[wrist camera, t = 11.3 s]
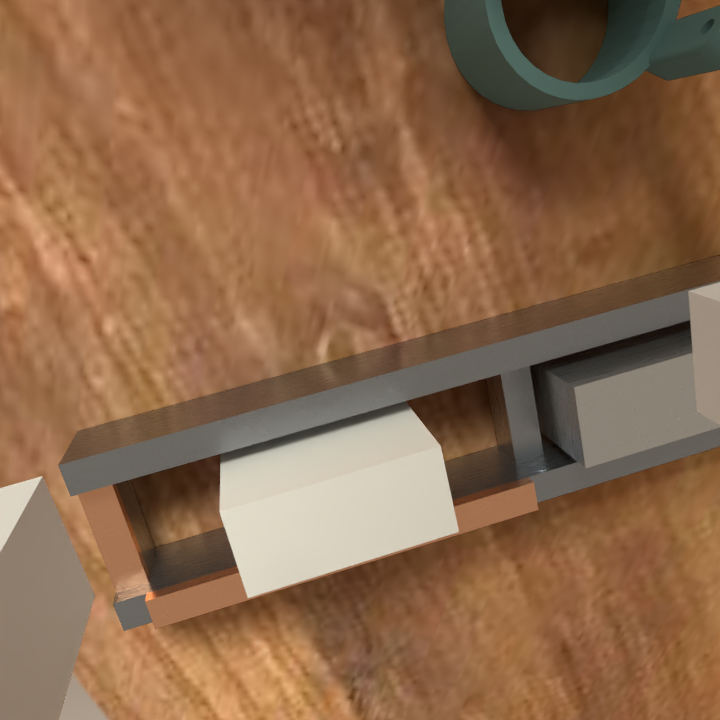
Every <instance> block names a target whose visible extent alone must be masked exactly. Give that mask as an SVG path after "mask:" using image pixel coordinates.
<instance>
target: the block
mask: <svg viewBox="0 0 720 720" xmlns="http://www.w3.org/2000/svg"><path fill="white" fill-rule="evenodd" d="M220 515H221V518H222V521H223V524H224V527H225V530H226V533H227V536H228V539H229V542H230V545H231V548H232V551H233V554H234V558H235V561H236V564H237V567H238V570H239V573H240V576H241V579H242V582H243V585H244V588H245V591H246V594H247V597H248V598H250V597H253V596H257V595H260V594H263V593H266V592H269V591H273V590H276V589H279V588H282V587H285V586H289V585H292V584H295V583H298V582H301V581H304V580H308V579H311V578H314V577H317V576H320V575H324V574H327V573H330V572H333V571H336V570H339V569H343V568H346V567H349V566H352V565H355V564H359V563H362V562H365V561H368V560H371V559H374V558H378V557H381V556H384V555H387V554H390V553H394V552H397V551H400V550H403V549H406V548H410V547H413V546H416V545H419V544H422V543H425V542H429V541H432V540H435V539H438V538H441V537H445V536H448V535H451V534H454V533H457V532H459V529H458V525H457V520H456V515H455V511H454V506H453V501H452V497H451V492H450V487H449V482H448V478H447V473H446V468H445V464H444V459H443V454H442V450H441V446H440V445H439V443H438V442H437V441H436V439H435V438H434V437H433V436H432V434H431V433H430V432H429V431H428V429H427V428H426V427H425V425H424V424H423V423H422V422H421V420H420V419H419V418H418V417H417V415H416V414H415V413H414V411H413V410H412V409H411V408H410V406H409V405H408V404H407V403H406V401H404V402H401V403H397V404H394V405H390V406H387V407H383V408H380V409H376V410H373V411H369V412H366V413H362V414H359V415H355V416H352V417H348V418H345V419H341V420H338V421H334V422H331V423H327V424H324V425H320V426H317V427H313V428H310V429H306V430H303V431H299V432H295V433H292V434H288V435H285V436H281V437H278V438H274V439H271V440H267V441H264V442H260V443H257V444H253V445H250V446H246V447H243V448H239V449H236V450H232V451H229V452H225V453H222V454H221V462H220Z"/></svg>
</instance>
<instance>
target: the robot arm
mask: <svg viewBox="0 0 720 720" xmlns="http://www.w3.org/2000/svg"><path fill="white" fill-rule="evenodd" d="M688 294H689V308H690V322H691V337H692V351H693V365H694V379H695V393H696V408H697V412H698V413H700V414H702V415H703V416H705V417H707V418H709V419H710V420H712V421H714V422H716V423H717V424H719V425H720V282H719V283H715V284H712V285H708V286H705V287H701V288H698V289H694V290H691V291H688ZM94 597H95V594H94V592H93V590H92V588H91V585H90V583H89V581H88V578H87V576H86V574H85V572H84V569H83V567H82V565H81V563H80V560H79V558H78V556H77V553H76V551H75V549H74V547H73V544H72V542H71V540H70V538H69V535H68V533H67V531H66V528H65V526H64V524H63V522H62V519H61V517H60V515H59V513H58V510H57V508H56V506H55V503H54V501H53V499H52V497H51V494H50V492H49V490H48V487H47V485H46V483H45V481H44V478H43V476H41V477H38V478H34V479H31V480H27V481H24V482H20V483H17V484H13V485H10V486H6V487H3V488H1V489H0V720H59V717H60V713H61V710H62V707H63V703H64V700H65V696H66V693H67V689H68V686H69V682H70V679H71V676H72V672H73V669H74V666H75V662H76V659H77V655H78V652H79V649H80V645H81V642H82V638H83V635H84V631H85V628H86V625H87V621H88V618H89V614H90V611H91V608H92V604H93V601H94Z"/></svg>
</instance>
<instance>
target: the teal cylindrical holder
mask: <svg viewBox="0 0 720 720" xmlns="http://www.w3.org/2000/svg"><path fill="white" fill-rule="evenodd" d="M680 3H681V0H608V20H607V29H606V33H605V36H604V40H603V44H602V47H601V49H600V51H599V53H598V55H597V58H596V60H595V61H594V63H593V64H592V66H591V67H590V69H589V70H588V72H587V73H586V74H585V75H584V76H583V78H582V79H581V80H580V81H579V82H578V83H573V82H567V81H561V80H559V79H556V78H554V77H551V76H549V75H547V74H545V73H544V72H542V71H541V70H539V69H538V68H536V67H535V66H533V64H532V63H531V62H530V61H529V60H528V59H527V58H526V57H525V56H524V55H523V54H522V53H521V51H520V50H519V48H518V47H517V45H516V44H515V42H514V40H513V39H512V37H511V34H510V32H509V29H508V27H507V24H506V22H505V17H504V13H503V9H502V4H501V0H445V11H444V22H445V30H446V38H447V41H448V45H449V48H450V51H451V55H452V57H453V59H454V61H455V63H456V65H457V67H458V69H459V71H460V72H461V74H462V75H463V76H464V78H465V79H466V80H467V82H468V83H469V84H470V85H471V86H472V87H473V88H474V89H475V90H476V91H477V92H478V93H479V94H480V95H482V96H484V97H485V98H487V99H488V100H490V101H491V102H493V103H495V104H498V105H500V106H503V107H505V108H509V109H515V110H520V111H526V110H540V109H545V108H550V107H555V106H560V105H565V104H570V103H575V102H580V101H585V100H590V99H595V98H598V97H602V96H606V95H609V94H611V93H613V92H616V91H618V90H620V89H622V88H624V87H625V86H627V85H628V84H630V83H631V82H633V81H634V80H635V79H637V78H638V77H639V76H640V75H641V74H642V73H643V72H644V71H648V72H650V73H652V74H654V75H656V76H658V77H660V78H663V79H665V80H668V81H669V80H674V79H678V78H683V77H688V76H693V75H698V74H702V73H707V72H712V71H717V70H720V5H719V6H716V7H713V8H710V9H707V10H704V11H701V12H698V13H696V14H693V15H690V16H687V17H684V18H681V19H678V20H676V18H677V14H678V10H679V7H680Z"/></svg>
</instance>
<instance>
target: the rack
mask: <svg viewBox="0 0 720 720" xmlns="http://www.w3.org/2000/svg"><path fill="white" fill-rule="evenodd" d="M719 282H720V255H718V256H714V257H711V258H707V259H704V260H700V261H696V262H693V263H689V264H685V265H682V266H678V267H674V268H671V269H667V270H663V271H660V272H656V273H653V274H649V275H645V276H642V277H638V278H634V279H631V280H627V281H623V282H620V283H616V284H612V285H609V286H605V287H602V288H598V289H594V290H591V291H587V292H583V293H580V294H576V295H572V296H569V297H565V298H561V299H558V300H554V301H550V302H547V303H543V304H540V305H536V306H532V307H529V308H525V309H521V310H518V311H514V312H510V313H507V314H503V315H499V316H496V317H492V318H489V319H485V320H481V321H478V322H474V323H470V324H467V325H463V326H459V327H456V328H452V329H448V330H445V331H441V332H438V333H434V334H430V335H427V336H423V337H419V338H416V339H412V340H408V341H405V342H401V343H397V344H394V345H390V346H387V347H383V348H379V349H376V350H372V351H368V352H365V353H361V354H357V355H354V356H350V357H346V358H343V359H339V360H335V361H332V362H328V363H325V364H321V365H317V366H314V367H310V368H306V369H303V370H299V371H295V372H292V373H288V374H284V375H281V376H277V377H274V378H270V379H266V380H263V381H259V382H255V383H252V384H248V385H244V386H241V387H237V388H233V389H230V390H226V391H223V392H219V393H215V394H212V395H208V396H204V397H201V398H197V399H193V400H190V401H186V402H182V403H179V404H175V405H172V406H168V407H164V408H161V409H157V410H153V411H150V412H146V413H142V414H139V415H135V416H131V417H128V418H124V419H121V420H117V421H113V422H110V423H106V424H102V425H99V426H95V427H91V428H88V429H84V430H80V431H78V432H77V434H76V435H75V437H74V439H73V441H72V442H71V444H70V446H69V448H68V449H67V451H66V453H65V455H64V456H63V458H62V460H61V462H60V463H59V468H60V471H61V473H62V476H63V478H64V481H65V483H66V486H67V488H68V491H69V493H70V496H74V495H78V496H79V498H80V501H81V504H82V506H83V509H84V511H85V514H86V516H87V519H88V521H89V524H90V527H91V529H92V532H93V534H94V537H95V539H96V542H97V544H98V547H99V550H100V552H101V555H102V557H103V560H104V562H105V565H106V567H107V570H108V573H109V575H110V578H111V580H112V583H113V585H114V588H115V590H116V594H115V598H114V602H113V605H114V607H115V610H116V612H117V615H118V617H119V620H120V622H121V625H122V627H123V630H124V631H125V630H128V629H132V628H135V627H138V626H141V625H145V624H148V623H151V622H153V624H154V627H155V629H157V628H160V627H163V626H167V625H170V624H173V623H176V622H179V621H183V620H186V619H189V618H192V617H196V616H199V615H202V614H205V613H208V612H212V611H215V610H218V609H221V608H224V607H228V606H231V605H234V604H237V603H241V602H244V601H247V600H250V599H253V598H257V597H260V596H263V595H266V594H269V593H273V592H276V591H279V590H282V589H286V588H289V587H292V586H295V585H298V584H302V583H305V582H308V581H311V580H314V579H318V578H321V577H324V576H327V575H331V574H334V573H337V572H340V571H343V570H347V569H350V568H353V567H356V566H359V565H363V564H366V563H369V562H372V561H376V560H379V559H382V558H385V557H388V556H392V555H395V554H398V553H401V552H404V551H408V550H411V549H414V548H417V547H421V546H424V545H427V544H430V543H433V542H437V541H440V540H443V539H446V538H449V537H453V536H456V535H459V534H462V533H466V532H469V531H472V530H475V529H478V528H482V527H485V526H488V525H491V524H494V523H498V522H501V521H504V520H507V519H511V518H514V517H517V516H520V515H523V514H527V513H530V512H533V511H536V510H539V509H538V502H542V501H545V500H548V499H551V498H555V497H558V496H561V495H564V494H567V493H571V492H574V491H577V490H580V489H584V488H587V487H590V486H593V485H597V484H600V483H603V482H606V481H609V480H613V479H616V478H619V477H622V476H626V475H629V474H632V473H635V472H638V471H642V470H645V469H648V468H651V467H655V466H658V465H661V464H664V463H668V462H671V461H674V460H677V459H680V458H684V457H687V456H690V455H693V454H697V453H700V452H703V451H706V450H709V449H713V448H716V447H719V446H720V425H719V424H717V423H716V422H714V421H712V420H710V419H709V418H707V417H705V416H703V415H702V414H700V413H698V412H697V408H696V393H695V379H694V365H693V351H692V337H691V322H690V308H689V294H688V291H691V290H694V289H698V288H701V287H705V286H708V285H712V284H715V283H719ZM482 379H486V385H487V390H488V396H489V401H490V407H491V412H492V418H493V423H494V429H495V434H496V440H497V445H498V446H495V447H492V448H488V449H485V450H482V451H478V452H475V453H472V454H468V455H465V456H462V457H458V458H455V459H451V460H448V461H445V462H444V464H445V468H446V473H447V478H448V482H449V487H450V492H451V497H452V501H453V506H454V511H455V515H456V520H457V525H458V529H459V532H457V533H454V534H451V535H448V536H445V537H441V538H438V539H435V540H432V541H429V542H425V543H422V544H419V545H416V546H413V547H410V548H406V549H403V550H400V551H397V552H394V553H390V554H387V555H384V556H381V557H378V558H374V559H371V560H368V561H365V562H362V563H359V564H355V565H352V566H349V567H346V568H343V569H339V570H336V571H333V572H330V573H327V574H324V575H320V576H317V577H314V578H311V579H308V580H304V581H301V582H298V583H295V584H292V585H289V586H285V587H282V588H279V589H276V590H273V591H269V592H266V593H263V594H260V595H257V596H253V597H250V598H248V597H247V594H246V591H245V588H244V585H243V582H242V579H241V576H240V573H239V570H238V567H237V564H236V561H235V558H234V554H233V551H232V548H231V545H230V542H229V539H228V536H227V533H226V530H225V527H223V528H220V529H216V530H213V531H209V532H206V533H203V534H199V535H196V536H193V537H189V538H186V539H183V540H179V541H176V542H172V543H169V544H166V545H162V546H159V547H156V548H155V546H154V543H153V541H152V538H151V535H150V532H149V530H148V527H147V524H146V521H145V519H144V516H143V513H142V510H141V508H140V505H139V502H138V499H137V497H136V494H135V491H134V488H133V486H132V483H131V479H134V478H138V477H141V476H145V475H148V474H152V473H155V472H159V471H162V470H166V469H169V468H173V467H176V466H180V465H183V464H187V463H190V462H194V461H197V460H201V459H204V458H208V457H211V456H215V455H218V454H222V453H225V452H229V451H232V450H236V449H239V448H243V447H246V446H250V445H253V444H257V443H260V442H264V441H267V440H271V439H274V438H278V437H281V436H285V435H288V434H292V433H295V432H299V431H303V430H306V429H310V428H313V427H317V426H320V425H324V424H327V423H331V422H334V421H338V420H341V419H345V418H348V417H352V416H355V415H359V414H362V413H366V412H369V411H373V410H376V409H380V408H383V407H387V406H390V405H394V404H397V403H401V402H404V401H408V400H411V399H415V398H418V397H422V396H425V395H429V394H432V393H436V392H439V391H443V390H446V389H450V388H453V387H457V386H460V385H464V384H467V383H471V382H475V381H478V380H482ZM540 431H541V432H542V433H540Z"/></svg>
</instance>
